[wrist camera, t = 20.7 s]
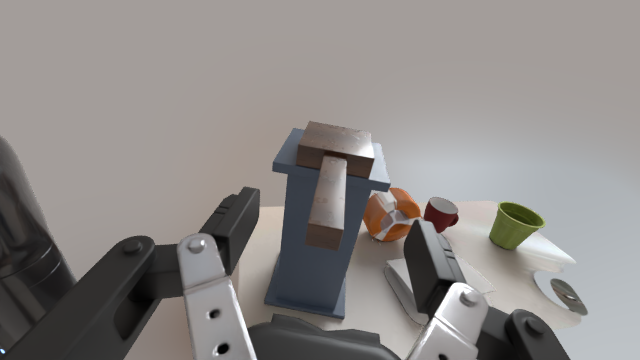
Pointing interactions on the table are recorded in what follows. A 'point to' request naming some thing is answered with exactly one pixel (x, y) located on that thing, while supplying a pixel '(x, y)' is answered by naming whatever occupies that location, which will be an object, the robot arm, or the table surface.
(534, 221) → the plant pot
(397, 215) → the coil
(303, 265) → the blue tapered column stand
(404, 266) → the book
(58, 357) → the robot arm
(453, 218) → the mug
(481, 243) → the table surface
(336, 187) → the paddle
